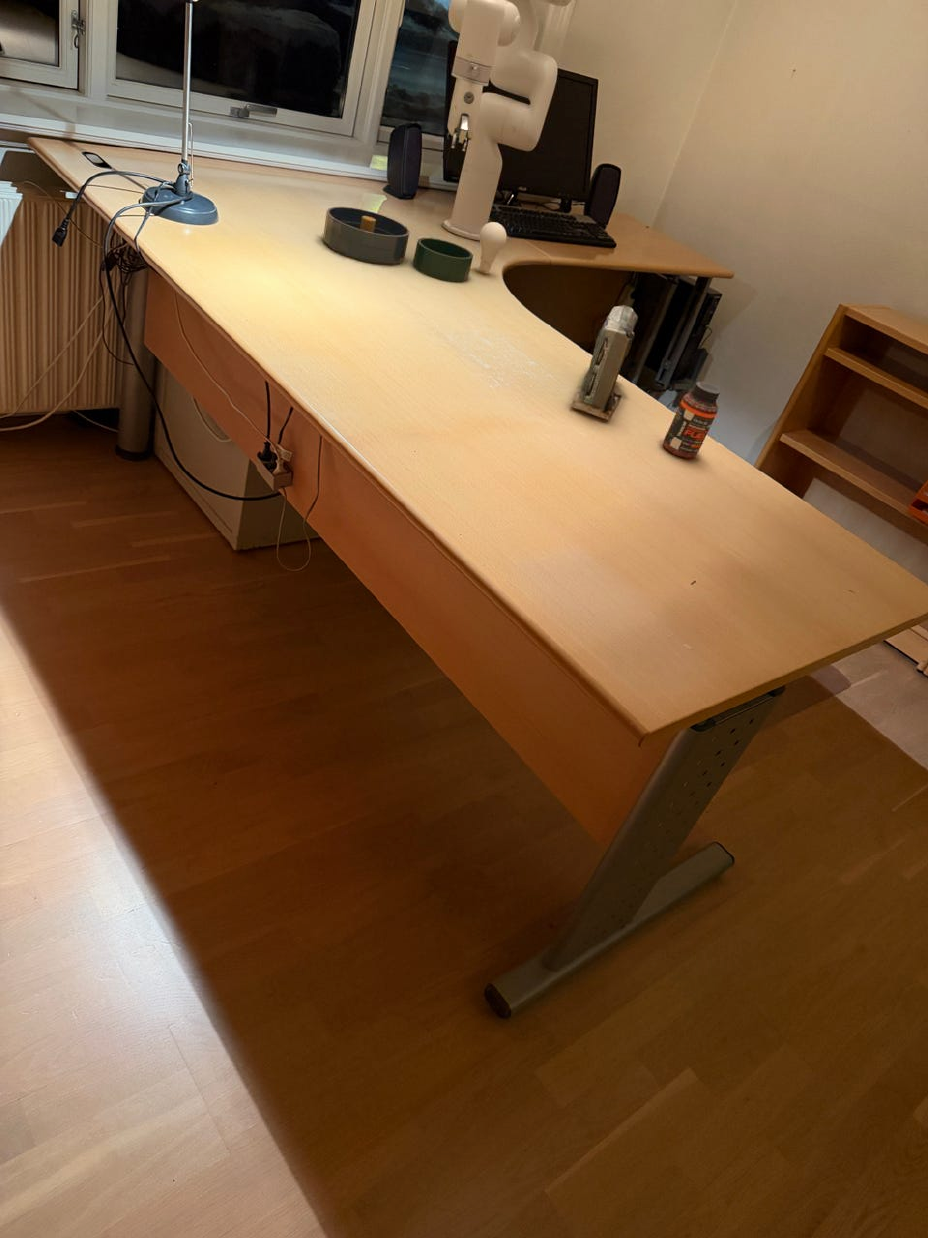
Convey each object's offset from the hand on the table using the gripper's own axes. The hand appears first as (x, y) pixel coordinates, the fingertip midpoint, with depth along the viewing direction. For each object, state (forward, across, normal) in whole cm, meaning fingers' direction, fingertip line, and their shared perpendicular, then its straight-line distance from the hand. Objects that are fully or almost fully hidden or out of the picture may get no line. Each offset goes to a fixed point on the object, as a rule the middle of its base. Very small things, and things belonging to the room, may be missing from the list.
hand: (450, 165), depth 175 cm
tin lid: (+19, -3, +15) cm, 24 cm away
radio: (+20, -59, -26) cm, 67 cm away
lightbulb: (+20, +2, -13) cm, 24 cm away
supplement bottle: (+20, -75, -38) cm, 87 cm away
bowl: (+20, -3, +15) cm, 25 cm away
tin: (+20, -5, -2) cm, 21 cm away
